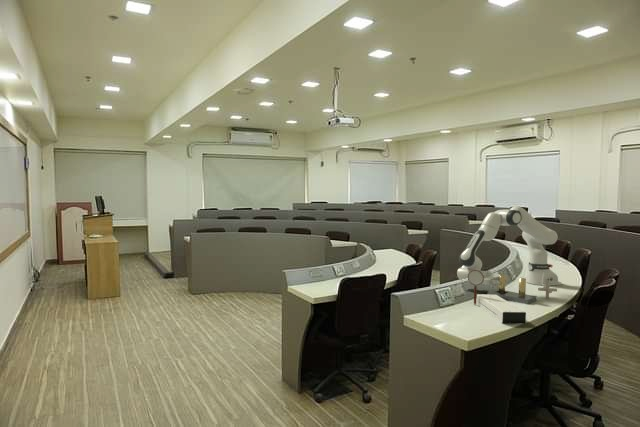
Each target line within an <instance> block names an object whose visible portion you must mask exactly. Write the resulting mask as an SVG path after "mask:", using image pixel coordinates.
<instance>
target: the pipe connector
mask: <svg viewBox="0 0 640 427" xmlns="http://www.w3.org/2000/svg"><path fill="white" fill-rule="evenodd" d="M549 283H550V282H549V281H546V286H543V287H537V289H538V291H539V292H541V291H542V292H545V298H546V299H549V298H550V294H552V293H553V292H555V293H556V292H558V288H554V287H553V288H550V286H549Z"/></svg>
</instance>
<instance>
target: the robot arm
mask: <svg viewBox="0 0 640 427" xmlns="http://www.w3.org/2000/svg"><path fill="white" fill-rule="evenodd" d="M501 226H503V227H505V226H507V227H510V226H512V227H513V226H517V227H518V228H519V229H520V230H521V231H522V233H521V236H522V239H523V240H524V242H526V244H527V247H528V251H529V262H528V273H527V278H526V284H531V285H537V286H538V285H539V286H543V287H544V286H545V287H546V281H549V282H550V283H549V287H550V286H559V285H562V284H563V283H562V282H561V281H559V276H558V275H557V273H555V272H554V271H553V270H551V269H550V268H553V264H551V263H548V257H549V256H548V251H547V250H546V249H545V248H544V246H545V245H547V246H548V245H554V244H556V242H557V241H558V233H557V232H556V231H555V230H554V229H551V228H549V227H547V226H546V225H544V224H542V223H541V222H539V221H538V220H537V219H535V218H534V216H532V215H531V214H530V213H529V212H528V211H527V210H526V209H525V208H523V207H522V206H519V205H514V206H512V207H511V208H509V209H495V210H493V211H491V212H489V213H487V215H486V216H485V217H484V218H483V220H482V223H481V225H480V226H479V228H478V230H476V232H474V234H473V235H472V237H471V239H470V240H469V242H468V243H467V246H466V247H465V248H464V250H462V252H461V253H460V254H459V257H458V261H459V263H460V264H461V267H459V268H458V269H457V271H456V274H457V275H456V276H457V278H458V279H459V280H460V281H462V279H466V278H468V274H469V272H471V271H472V270H478V271H480V272H481V273H482V274H483V276H484V281H483V283H482V284H481V285H480V286H491V285H499V284H500V283H501V281H499V275H501V274H499V273H496V272H492V271H489V270H486V271H485V270H482V267H483V261H482V260H481V259H480V258H479V257H478V256H477V255H476V251H477V249H478V248H479V247H480V245H481V243H482V242H484V241H485V242H490V241H493V240H494V239H495V238H496V236H497V234H498V231H499V229H500V227H501ZM543 245H544V246H543ZM507 282H508V278H505V283H507Z"/></svg>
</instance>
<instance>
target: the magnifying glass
mask: <svg viewBox="0 0 640 427" xmlns="http://www.w3.org/2000/svg"><path fill="white" fill-rule="evenodd" d="M480 271H481V270H480ZM480 271H478V270H472V271H471V272H469V274H468V280H469V282H470V284H471V285H473V286H474V287H473V292H474V293H473V305H474V306H476V305H477V287H478V286H481V285H480V284H482V283H483V281H484V276H483V274H482V273H481V272H480ZM469 282H468V283H469Z"/></svg>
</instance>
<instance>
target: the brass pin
mask: <svg viewBox="0 0 640 427" xmlns="http://www.w3.org/2000/svg"><path fill="white" fill-rule="evenodd" d="M506 277H507V276H506V274H500V275H499V281H501V283H500V284H498V289H499V293H502V294H505V291H506V282H505V278H506ZM506 279H507V278H506Z"/></svg>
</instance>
